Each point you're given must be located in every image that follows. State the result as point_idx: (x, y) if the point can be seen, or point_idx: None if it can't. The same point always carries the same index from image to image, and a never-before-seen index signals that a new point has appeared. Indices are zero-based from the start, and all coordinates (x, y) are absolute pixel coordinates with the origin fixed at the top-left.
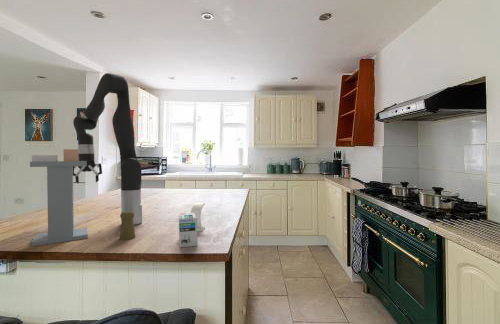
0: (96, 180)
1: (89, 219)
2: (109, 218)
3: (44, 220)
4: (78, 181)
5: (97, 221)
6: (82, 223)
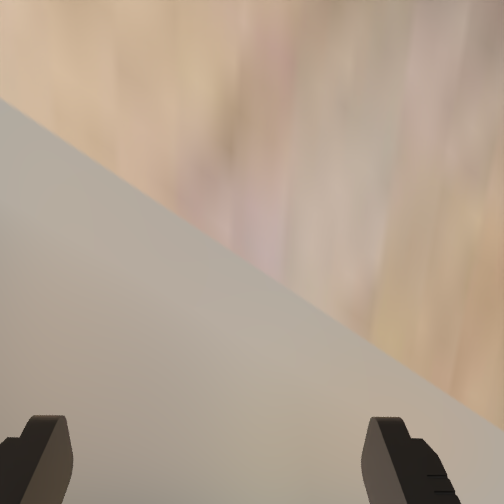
0: (35, 438)
1: (225, 180)
2: (75, 119)
3: (482, 328)
4: (389, 442)
5: (168, 50)
6: (282, 46)
